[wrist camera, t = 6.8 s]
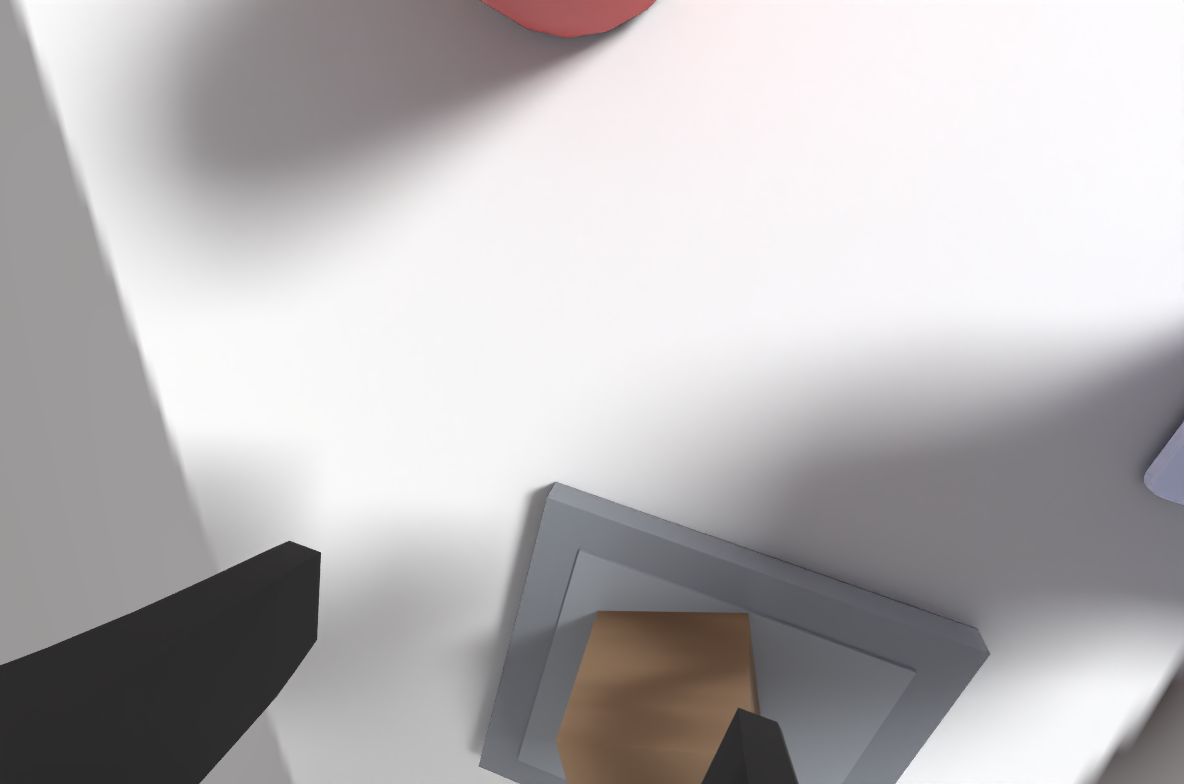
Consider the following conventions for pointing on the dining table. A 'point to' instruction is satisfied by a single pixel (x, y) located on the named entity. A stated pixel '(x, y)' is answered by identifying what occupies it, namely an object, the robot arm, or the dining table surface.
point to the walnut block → (656, 696)
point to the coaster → (778, 631)
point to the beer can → (570, 14)
